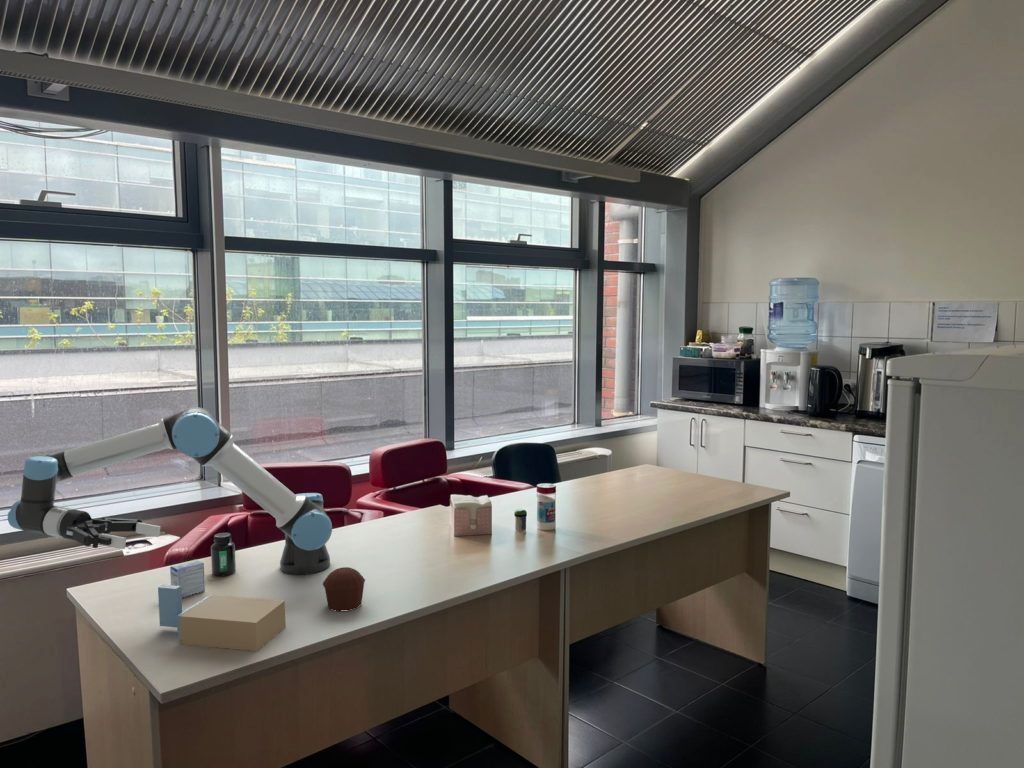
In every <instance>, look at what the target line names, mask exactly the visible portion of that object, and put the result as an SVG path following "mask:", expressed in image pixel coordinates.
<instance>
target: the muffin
mask: <svg viewBox="0 0 1024 768" xmlns="http://www.w3.org/2000/svg"><path fill="white" fill-rule="evenodd" d="M365 581H366V579H365V578H364V577H363V575H362V574H361V573H360V571H358V570H356V569H355V568H353V567H349V566H347V567H346V566H345V567H344V566H343V567H339V568H335V570H333V571H331V572H330V573H329V574H328V575H327V576H326V578H325V579H324V580H323V582H322V585H323V588H324V590H325V591H324V592H325V597H326V602H327V606H328V608H329V610H330V609H333V610H332V611H334V610H336V611H335V612H342V611H341V610H350V609H353V610H355V609H354V608H357V607H358V606H359V605H360V604H361V605H362V602H363V593H364V589H365V588H364V587H365ZM361 605H360V606H361ZM360 606H359V607H360ZM359 607H358V608H359ZM358 608H357V609H358ZM350 611H351V610H350Z"/></svg>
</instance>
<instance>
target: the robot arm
mask: <svg viewBox="0 0 1024 768" xmlns="http://www.w3.org/2000/svg"><path fill="white" fill-rule="evenodd" d="M233 436H234V435H233V434H232V433H231V432H230V431H229V430H227V429H226V428H225V427H224V426H223V425H222V424H221V423H220V422H218V421H217V418H216V417H215V416H214V414H213V413H211V412H210V411H209V410H208V409H206V408H203V407H191V408H186V409H184V410H182V411H180V412H177V413H174V414H172V415H169V416H165V417H163V418H161V419H160V421H159V422H158V423H155V424H151V425H148V426H144V427H141V428H137V429H134V430H131V431H127V432H124V433H121V434H118V435H115V436H111V437H108V438H105V439H101V440H98V441H94V442H91V443H87V444H85V445H84V444H83V445H81V446H77V447H74V448H70V449H68V450H65V451H61V452H57V453H49V454H46V455H43V456H42V455H38V456H30V457H28V458H26V459H25V460H24V466H23V470H22V483H21V484H22V485H21V495H20V500H18V501H15V502H14V503H13V504H11V506H10V510H9V511H8V512H7V522H8V524H9V526H11V527H12V528H13V529H17V530H20V531H23V532H26V533H27V532H28V533H35V534H42V535H46V536H52V537H54V538H55V539H59V538H60V539H61V538H63V539H67V540H71V541H76V542H77V543H79V544H81V545H83V546H85V547H91V546H92V548H93V549H97V548H99V545H100V546H103V547H109V548H114V549H119V550H125V549H126V546H127V545H126V543H127V537H126V536H125V537H124V536H119V535H112V534H111V533H113V532H115V533H116V532H117V533H119V532H121V533H122V532H123V533H125V532H127V533H128V532H133V533H134V532H135V534H138V535H140V534H141V535H143V536H144V535H145V536H149V537H150V536H151V537H157V538H158V537H159V538H160V536H161V526H160V525H154V524H149V523H145V522H143V520H142V519H141V518H137V519H131V518H116V517H115V518H114V517H106V516H103V517H102V518H92V516H91V514H90V513H89V512H87V511H85V510H80V509H73V508H69V507H64V506H63V507H62V506H57V505H55V499H56V497H55V496H56V487H57V484H58V483H59V482H62V481H65V480H68V479H70V478H73V477H77V476H80V475H83V474H86V473H90V472H92V471H96V470H99V469H104V468H106V467H110V466H112V465H116V464H119V463H122V462H126V461H129V460H133V459H135V458H139V457H143V456H145V455H148V454H152V453H155V452H158V451H161V450H164V449H165V450H166V449H169V450H178V451H179V452H180V453H181V454H184V455H185V456H187V457H190V458H192V459H193V460H194V461H195V462H196V463H198V464H199V465H200V466H202V467H212V468H213V469H214V470H215V471H217V472H218V473H219V474H221V475H222V476H223V477H224V478H225V479H227V480H228V481H229V483H231V484H233V486H235V487H236V488H237V489H239V490H241V492H243V493H244V494H245V495H246V496H248V497H249V498H250V499H251V500H252V501H254V503H256V504H257V505H259V506H260V507H261V508H262V509H263V510H265V511H266V512H267V513H269V514H270V515H271V516H272V517H273V518H275V523H276V524H275V526H276V527H277V528H278V529H279V530H280V531H281V532H283V533H284V537H285V539H284V540H285V543H284V544H285V545H284V546H283V551H282V554H281V558H280V561H279V565H280V566H279V567H280V570H281V571H282V572H283V573H285V574H290V575H305V574H314V573H318V572H321V571H323V570H326V569H328V568H329V567H330V566H331V557H330V554H329V551H328V549H327V543H328V542H329V540H330V538H331V536H332V533H333V525H332V520H331V518H330V516H329V515H328V514H327V513H326V511H325V509H324V498H323V494H321V493H318V492H306V493H305V492H303V493H296V494H295V493H294V492H293V491H292V490H290V489H289V488H288V487H287V486H285V485H284V484H283V483H282V482H280V481H279V479H278V478H276V477H275V476H273V474H272V473H271V472H269V471H267V469H265V468H264V467H263V466H261V465H260V464H259V463H258V462H257V461H256V460H255V459H253V458H252V457H251V456H250V455H248V454H247V453H246V451H244V450H243V449H242V448H240V447H239V446H238V445H237V444H236V443H235V442H234V441H233V440H234V437H233Z"/></svg>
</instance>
